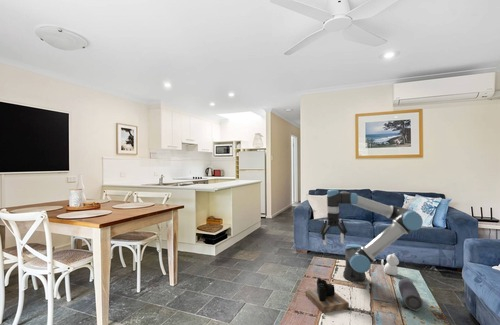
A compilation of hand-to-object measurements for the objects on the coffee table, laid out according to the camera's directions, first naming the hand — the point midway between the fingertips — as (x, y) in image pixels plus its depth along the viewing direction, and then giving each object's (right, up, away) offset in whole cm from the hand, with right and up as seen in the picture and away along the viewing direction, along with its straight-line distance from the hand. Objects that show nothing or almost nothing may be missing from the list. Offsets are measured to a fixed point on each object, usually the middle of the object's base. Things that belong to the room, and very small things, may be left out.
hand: (333, 244), depth 172 cm
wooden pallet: (-12, -26, -24) cm, 37 cm away
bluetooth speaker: (+36, -26, -25) cm, 51 cm away
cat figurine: (+47, -27, +16) cm, 57 cm away
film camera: (-12, -23, -23) cm, 35 cm away
